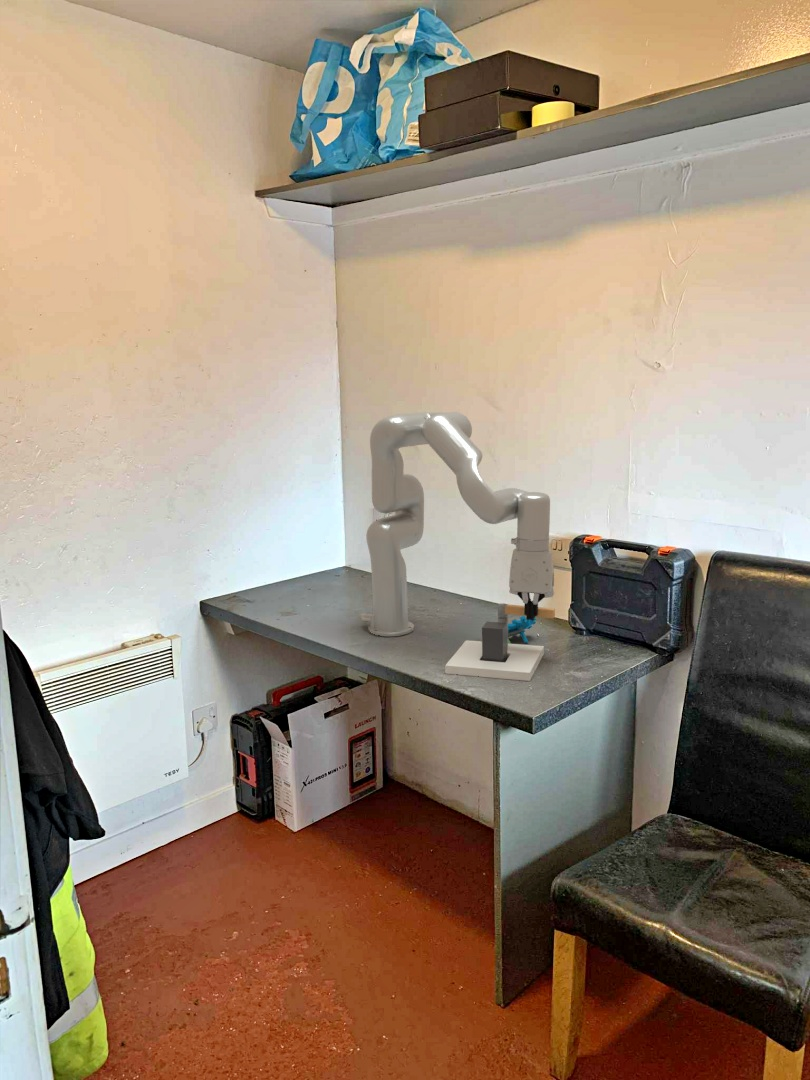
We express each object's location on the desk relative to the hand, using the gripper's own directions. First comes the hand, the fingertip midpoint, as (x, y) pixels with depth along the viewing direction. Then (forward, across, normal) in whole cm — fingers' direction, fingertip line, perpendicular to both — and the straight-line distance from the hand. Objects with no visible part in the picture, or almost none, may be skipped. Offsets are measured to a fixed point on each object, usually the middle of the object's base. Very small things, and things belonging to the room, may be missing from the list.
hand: (530, 618), depth 199 cm
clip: (+1, -2, +2) cm, 3 cm away
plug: (+11, -7, -6) cm, 14 cm away
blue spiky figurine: (+11, -6, +13) cm, 18 cm away
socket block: (+11, -7, -5) cm, 14 cm away
